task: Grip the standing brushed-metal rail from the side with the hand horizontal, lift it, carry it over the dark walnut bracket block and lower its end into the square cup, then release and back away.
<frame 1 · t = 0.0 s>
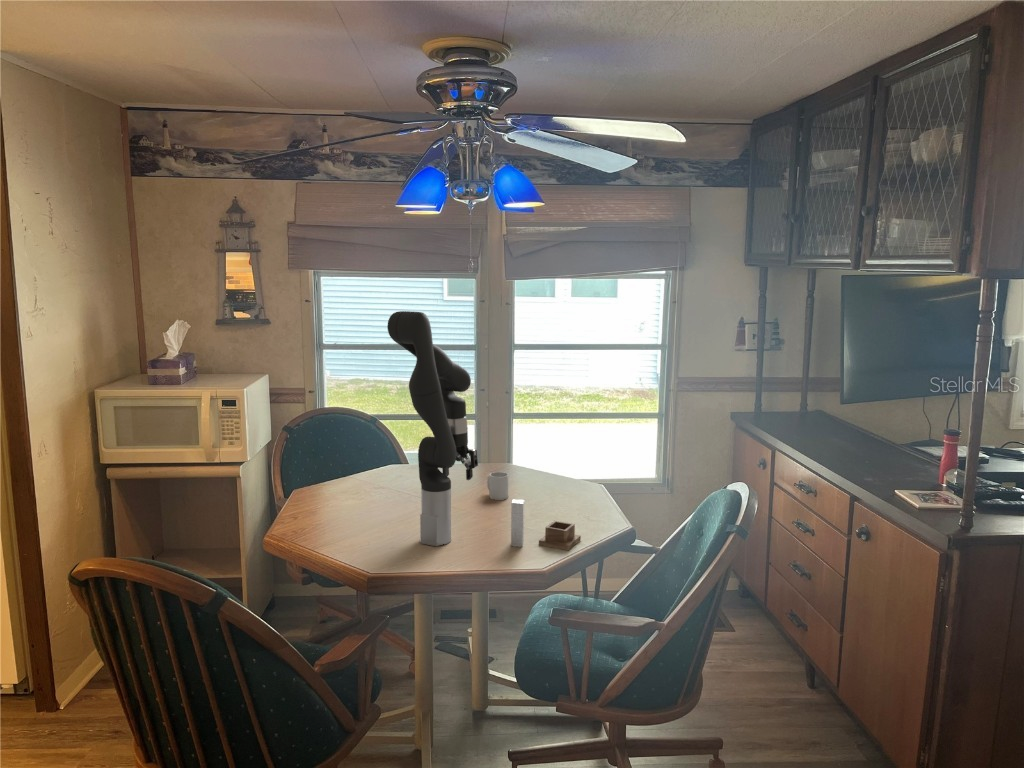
hand: (457, 477, 246), 17 cm above the table, tool pointing down, fingers open, 8 cm apart
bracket: (559, 542, 236), on the table
cup: (496, 497, 283), on the table
rail: (517, 544, 234), on the table
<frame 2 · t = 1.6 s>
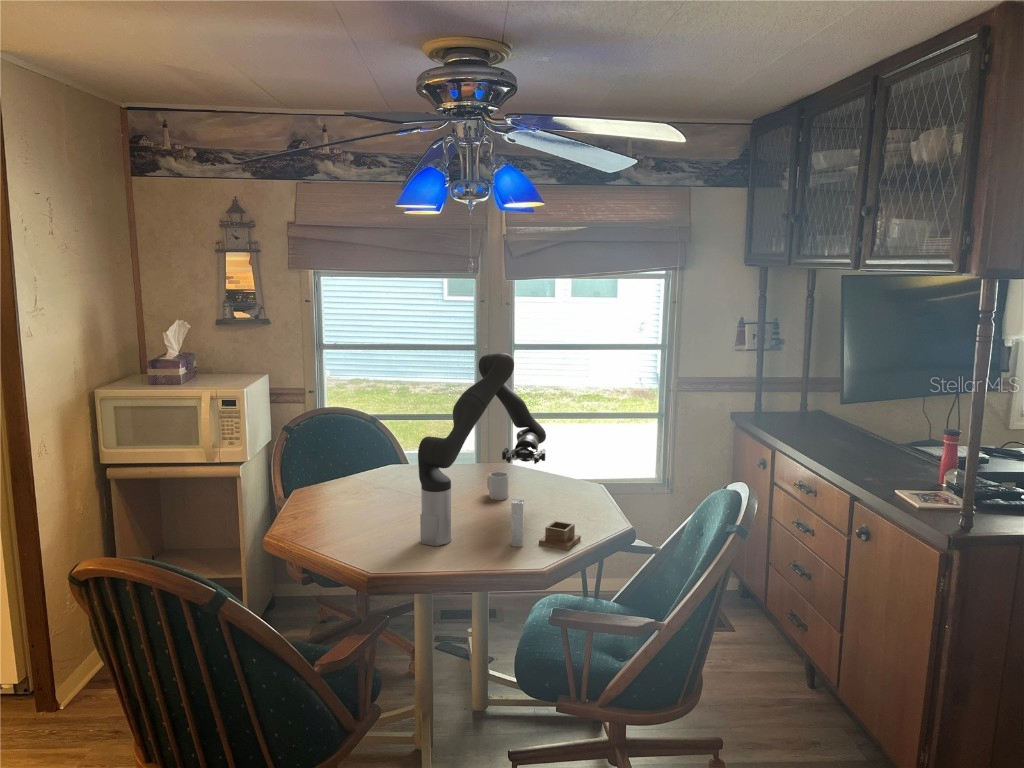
hand: (522, 460, 241), 24 cm above the table, tool horizontal, fingers open, 8 cm apart
nothing on the table moved.
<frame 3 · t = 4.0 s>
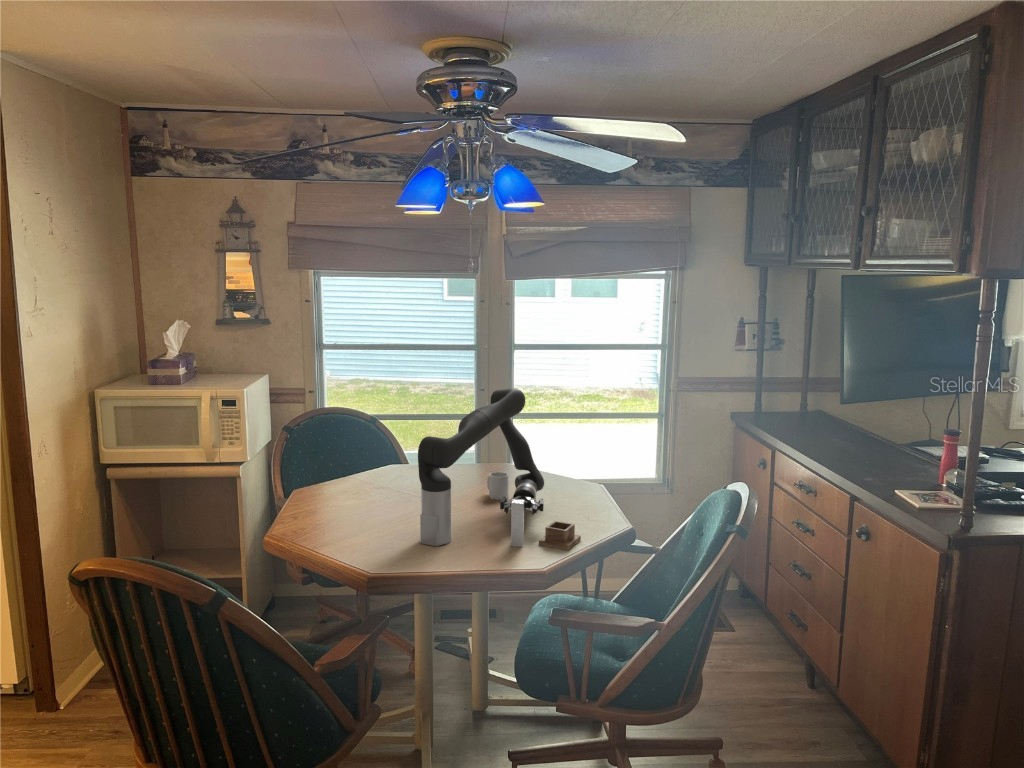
hand: (520, 511, 240), 8 cm above the table, tool horizontal, fingers open, 8 cm apart
nothing on the table moved.
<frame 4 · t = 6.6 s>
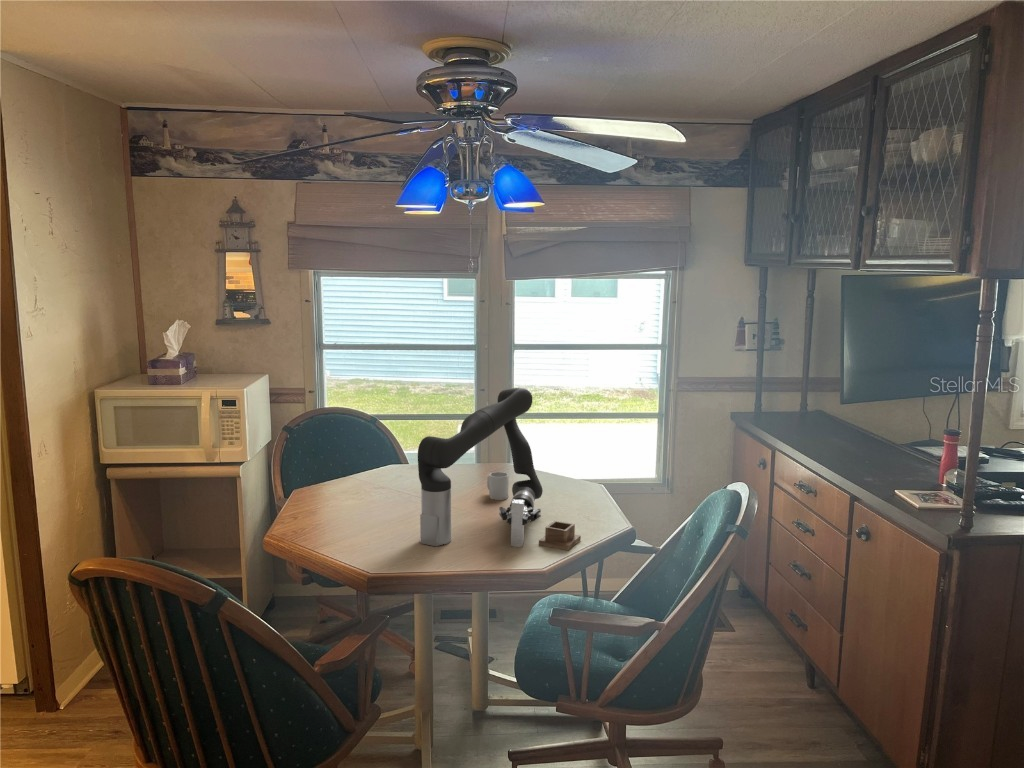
hand: (516, 521, 230), 8 cm above the table, tool horizontal, fingers closed on rail, 3 cm apart
rail: (517, 544, 234), on the table, touching gripper
everything else where it was.
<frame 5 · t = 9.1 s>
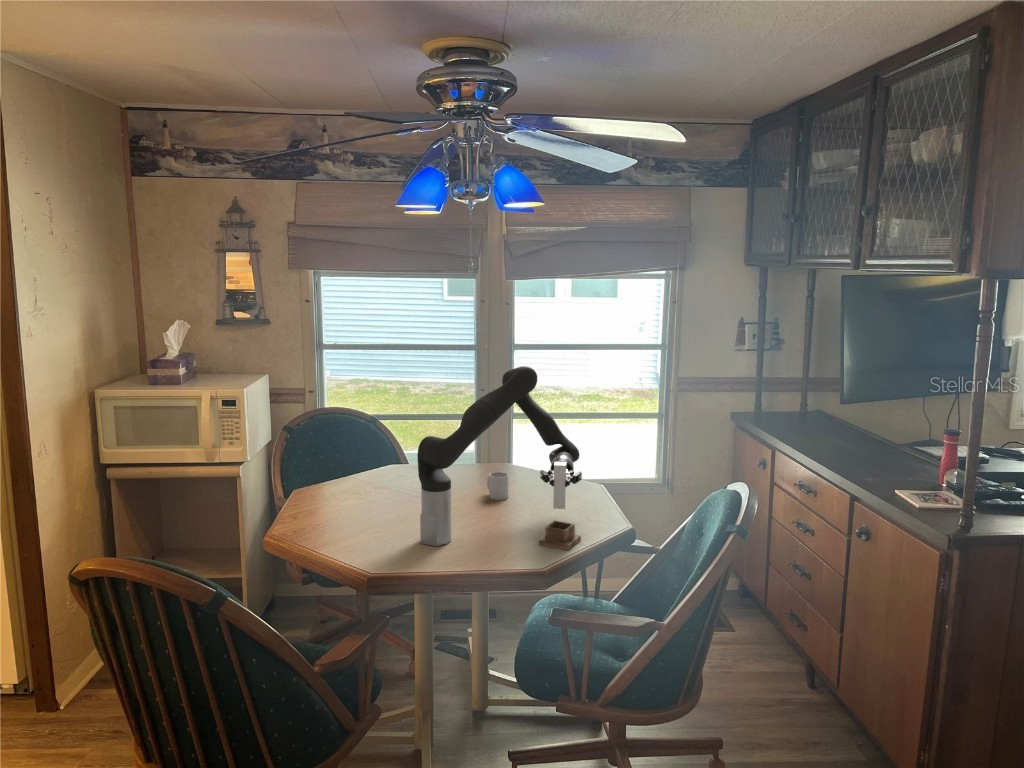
hand: (559, 483, 230), 20 cm above the table, tool horizontal, fingers closed on rail, 3 cm apart
rail: (559, 506, 234), point 12 cm above the table, touching gripper
everything else where it was.
when the fingers open (11 cm above the table, at t = 11.7 s): rail stays where it is, resting on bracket.
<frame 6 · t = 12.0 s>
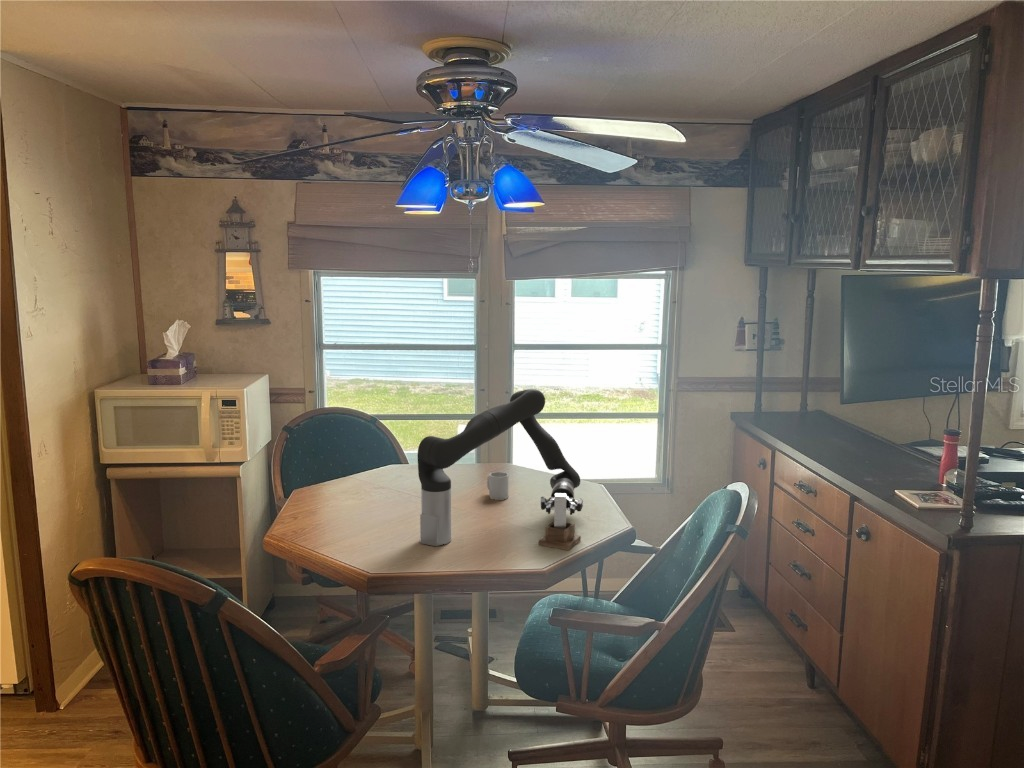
hand: (560, 511, 232), 11 cm above the table, tool horizontal, fingers open, 6 cm apart
rail: (559, 537, 236), point 1 cm above the table, touching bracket
everything else where it was.
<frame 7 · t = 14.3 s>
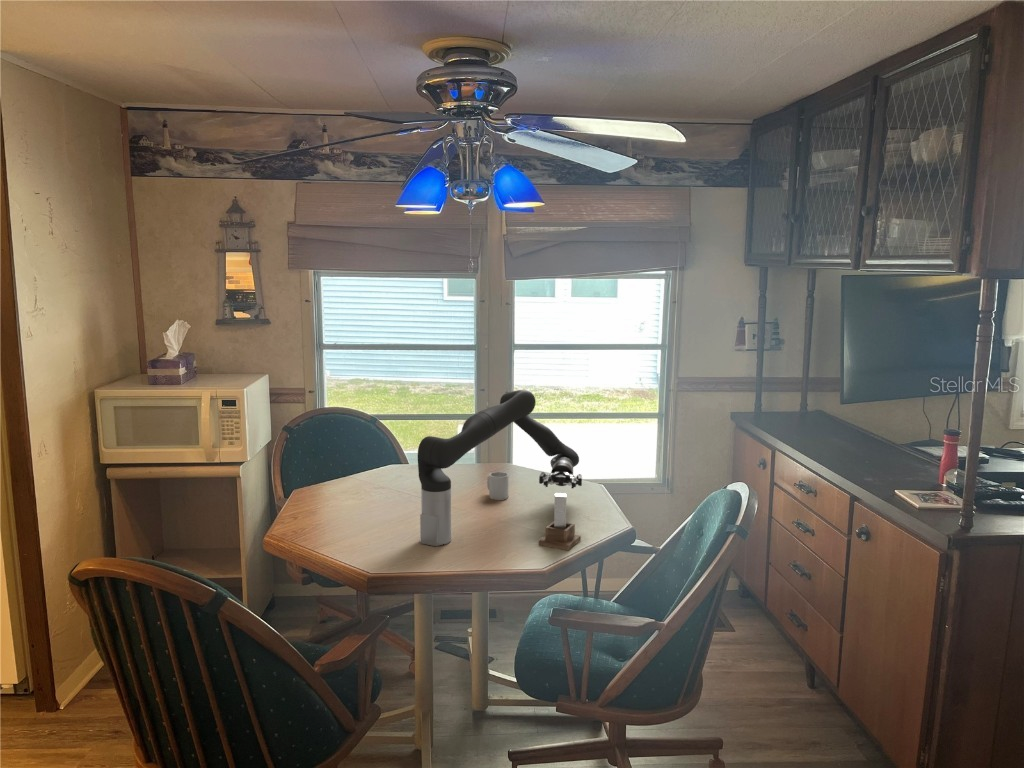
hand: (559, 484, 245), 16 cm above the table, tool horizontal, fingers open, 8 cm apart
nothing on the table moved.
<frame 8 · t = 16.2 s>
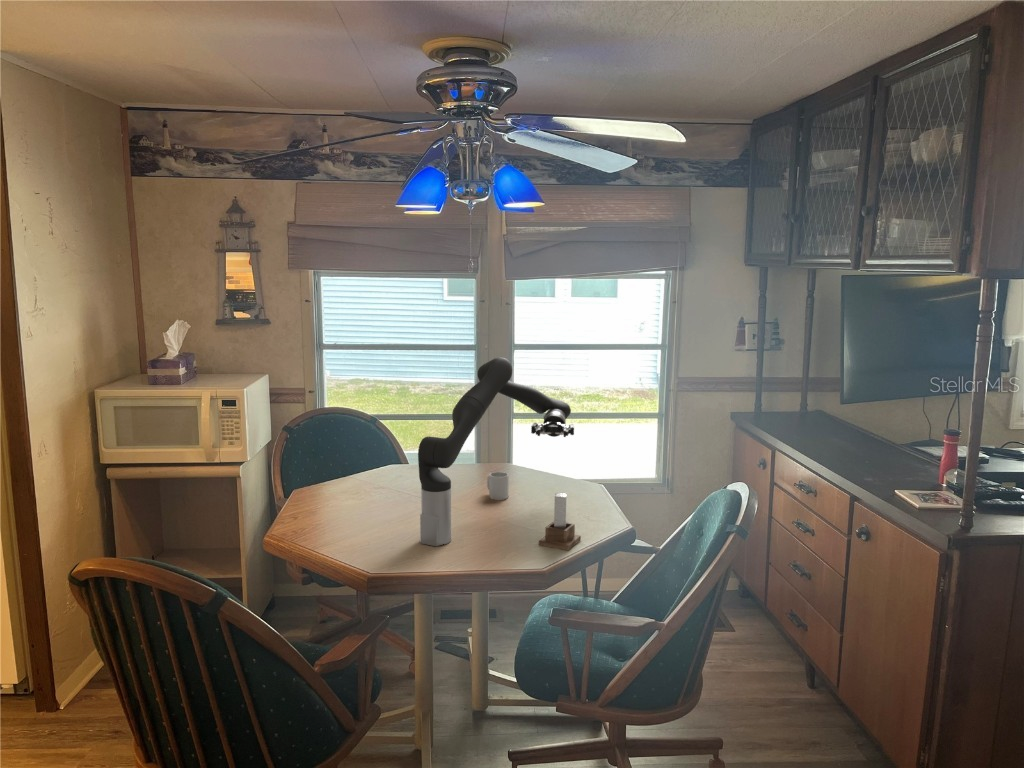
hand: (551, 433, 245), 32 cm above the table, tool horizontal, fingers open, 8 cm apart
nothing on the table moved.
at the end: rail 0.1 cm off-centre on the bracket, point 1.5 cm above the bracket's base; rail tilted 0°; the gripper is holding nothing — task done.
